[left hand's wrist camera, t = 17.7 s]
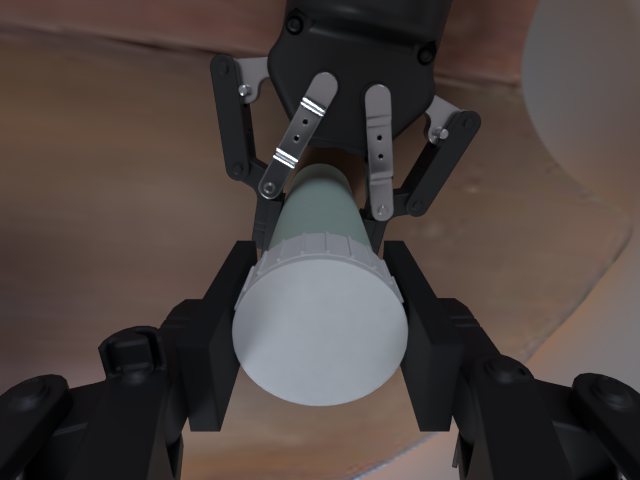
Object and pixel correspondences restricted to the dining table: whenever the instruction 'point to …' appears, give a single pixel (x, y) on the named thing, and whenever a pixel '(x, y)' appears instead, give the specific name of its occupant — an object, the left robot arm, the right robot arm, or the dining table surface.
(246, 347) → the lid
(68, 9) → the dining table surface
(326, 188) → the green bottle
